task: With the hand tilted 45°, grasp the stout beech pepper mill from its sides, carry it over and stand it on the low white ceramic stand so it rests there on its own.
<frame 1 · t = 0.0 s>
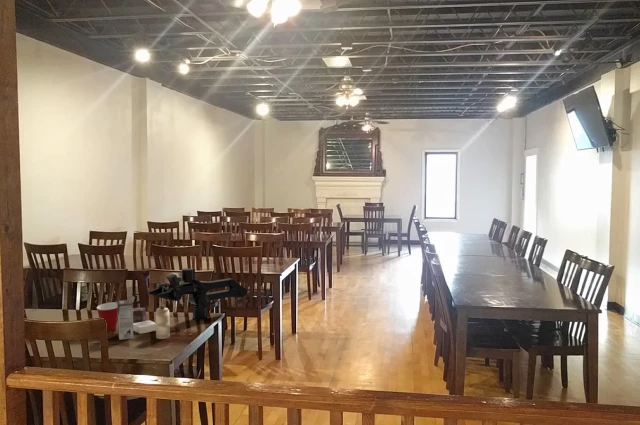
hand: (153, 294, 256), 17 cm above the table, tool horizontal, fingers open, 9 cm apart
stand: (144, 330, 254), on the table
box: (138, 323, 266), on the table
pepper mill: (163, 337, 242), on the table
plastic cup: (109, 329, 256), on the table
coffee box: (125, 336, 244), on the table
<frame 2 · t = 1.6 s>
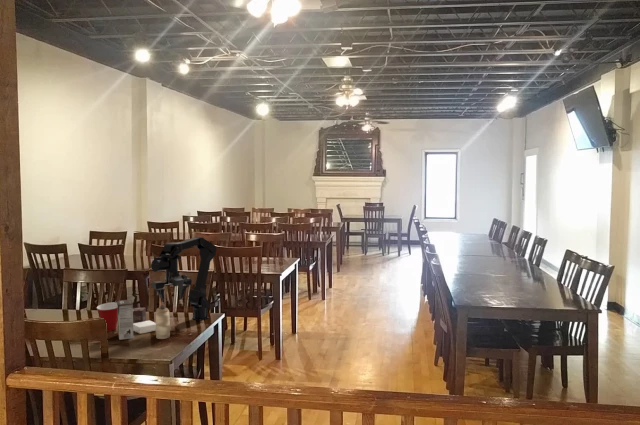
hand: (172, 300, 258), 13 cm above the table, tool pointing down, fingers open, 9 cm apart
nothing on the table moved.
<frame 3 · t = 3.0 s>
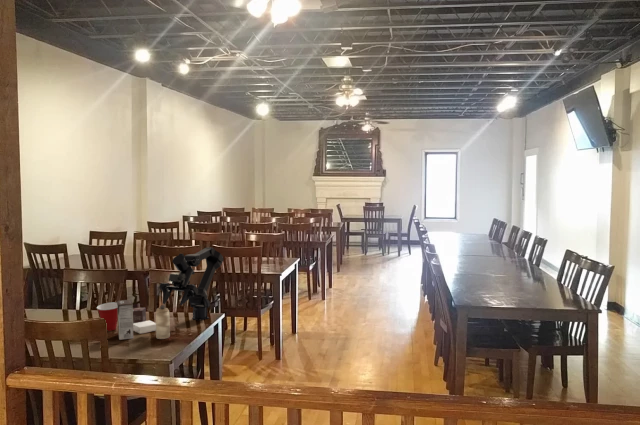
hand: (172, 304, 249), 13 cm above the table, tool tilted 45°, fingers open, 9 cm apart
nothing on the table moved.
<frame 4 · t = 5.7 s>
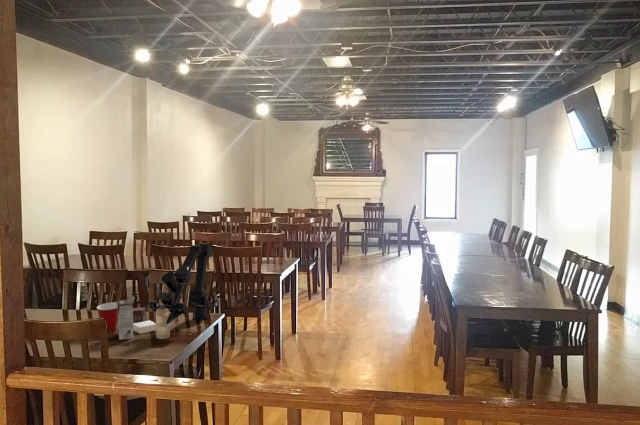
hand: (160, 323, 241), 7 cm above the table, tool tilted 45°, fingers closed on pepper mill, 6 cm apart
pepper mill: (163, 337, 242), on the table, touching gripper
everything else where it was.
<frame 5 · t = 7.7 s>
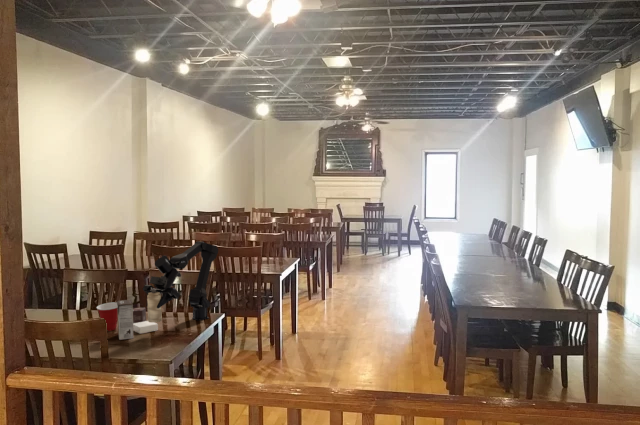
hand: (152, 307, 243), 13 cm above the table, tool tilted 45°, fingers closed on pepper mill, 6 cm apart
pepper mill: (155, 320, 245), point 7 cm above the table, touching gripper
everything else where it was.
when the fingers open (10 cm above the table, at t = 10.1 s): pepper mill stays where it is, resting on stand.
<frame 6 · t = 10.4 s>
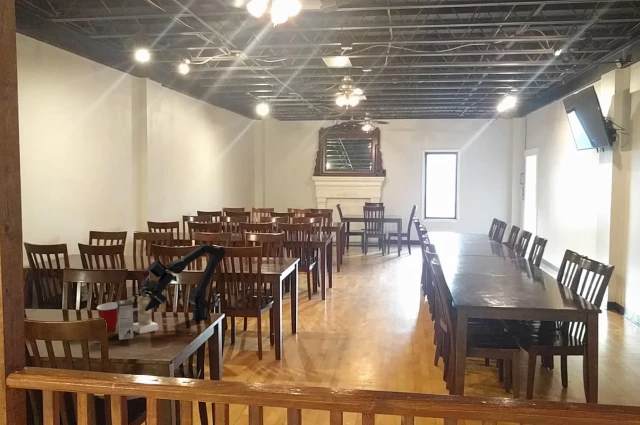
hand: (141, 309, 253), 10 cm above the table, tool tilted 45°, fingers open, 8 cm apart
pepper mill: (144, 323, 254), point 3 cm above the table, touching stand
everything else where it was.
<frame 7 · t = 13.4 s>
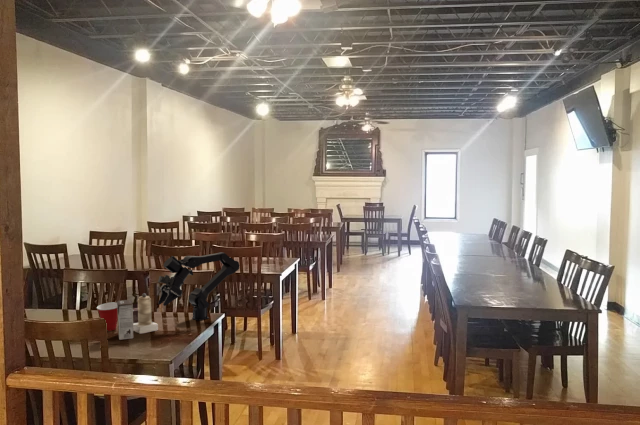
hand: (161, 304, 260), 11 cm above the table, tool tilted 40°, fingers open, 9 cm apart
nothing on the table moved.
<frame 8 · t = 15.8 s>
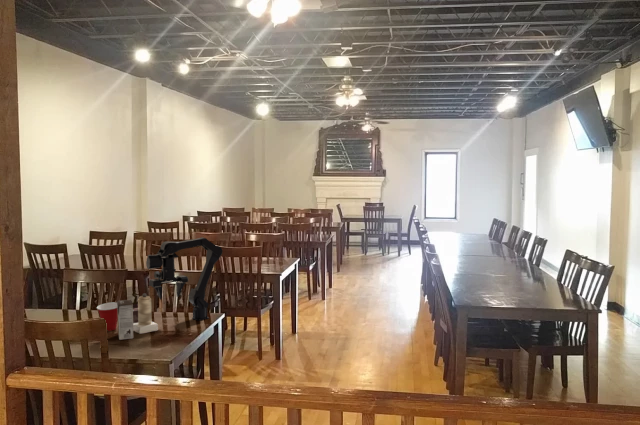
hand: (169, 298, 264), 13 cm above the table, tool pointing down, fingers open, 9 cm apart
nothing on the table moved.
at the end: pepper mill inside the target area on the stand (0.1 cm from its centre), point 3.0 cm above the stand's base; pepper mill tilted 1°; the gripper is holding nothing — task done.
